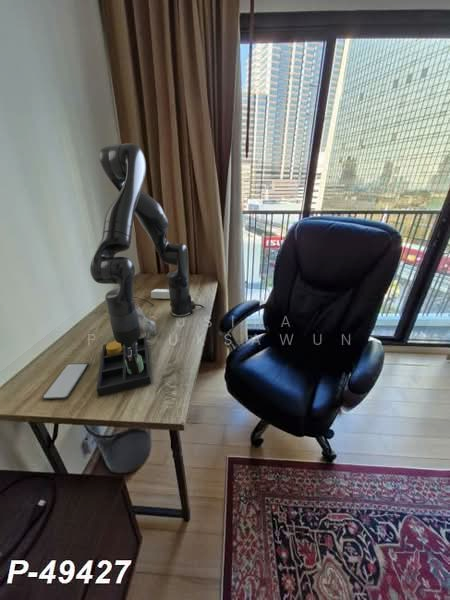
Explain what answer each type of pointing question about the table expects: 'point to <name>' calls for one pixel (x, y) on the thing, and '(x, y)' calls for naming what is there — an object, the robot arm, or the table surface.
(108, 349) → the ochre token
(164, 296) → the white box
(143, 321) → the dog figurine
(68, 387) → the smartphone
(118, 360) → the grid
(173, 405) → the table surface
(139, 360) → the green short cylinder
